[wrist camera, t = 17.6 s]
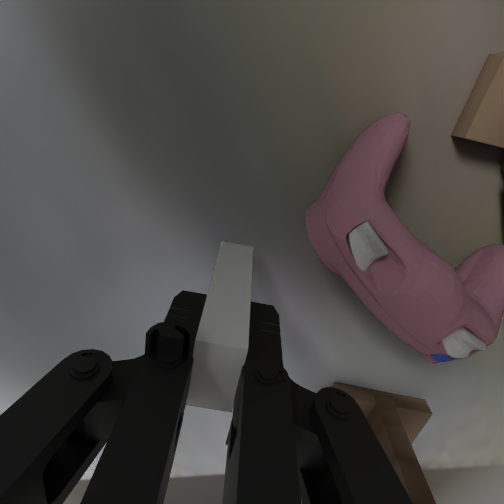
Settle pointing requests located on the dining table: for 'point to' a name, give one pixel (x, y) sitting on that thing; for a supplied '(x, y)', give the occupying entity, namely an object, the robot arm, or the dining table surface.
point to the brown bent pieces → (407, 408)
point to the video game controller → (402, 256)
